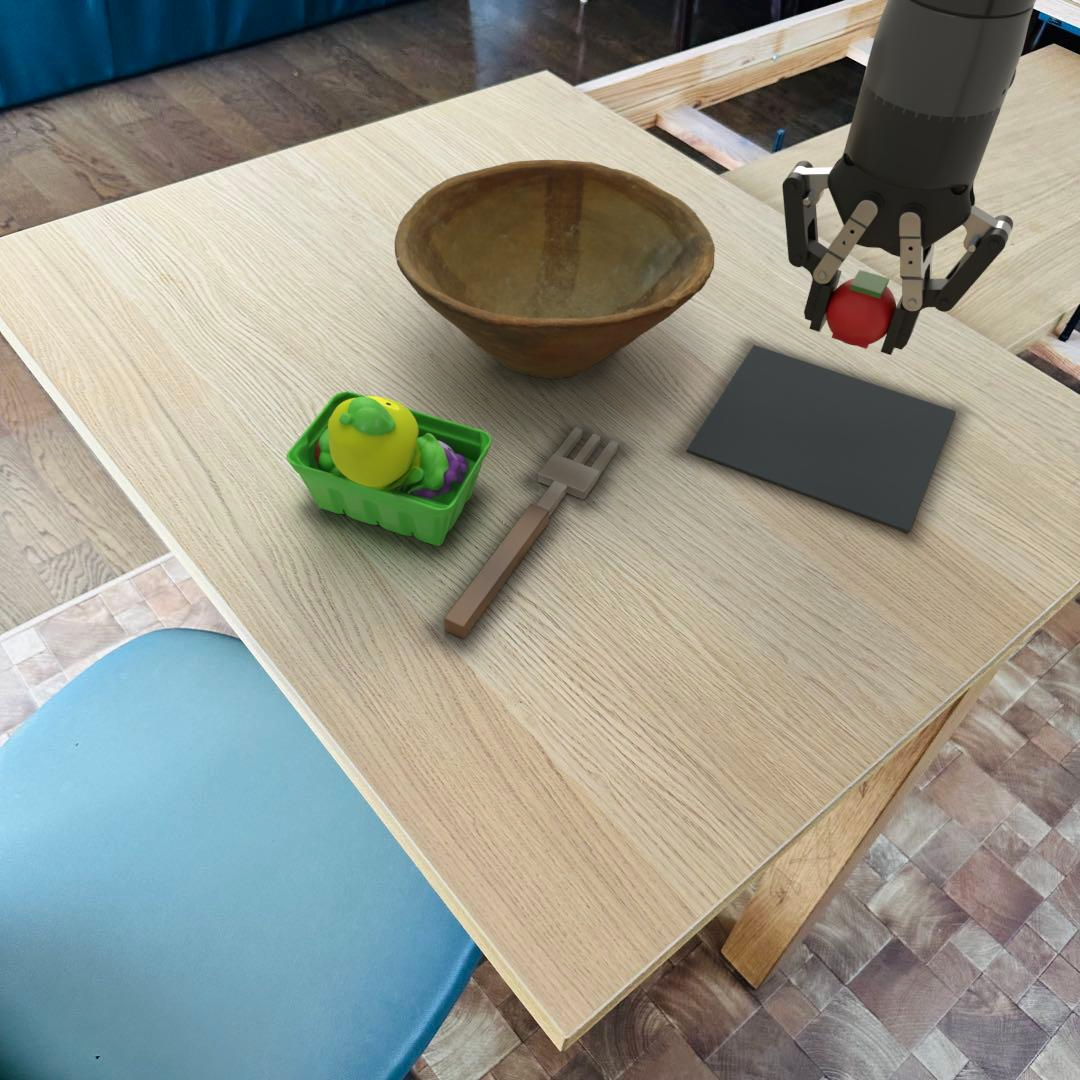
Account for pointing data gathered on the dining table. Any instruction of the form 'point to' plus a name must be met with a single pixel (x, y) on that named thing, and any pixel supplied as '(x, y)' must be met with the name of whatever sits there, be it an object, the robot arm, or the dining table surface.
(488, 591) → the fork
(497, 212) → the bowl
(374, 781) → the dining table surface
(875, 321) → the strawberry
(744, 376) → the placemat
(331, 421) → the fruit basket
